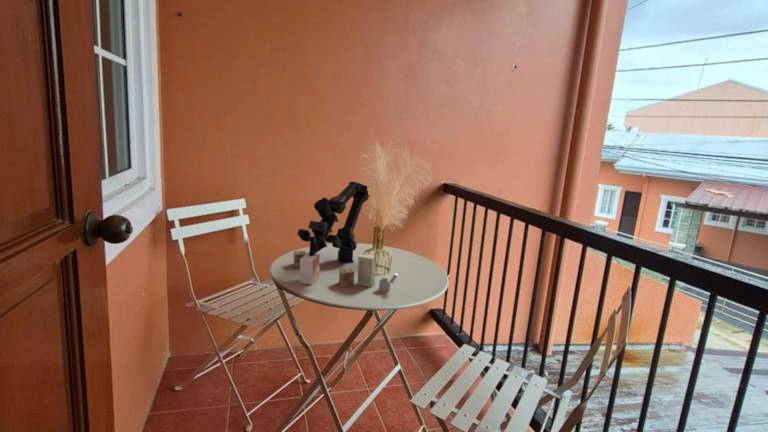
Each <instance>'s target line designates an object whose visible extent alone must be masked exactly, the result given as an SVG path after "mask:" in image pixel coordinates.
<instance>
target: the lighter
mask: <svg viewBox="0 0 768 432" xmlns="http://www.w3.org/2000/svg"><path fill="white" fill-rule="evenodd" d="M398 276H399V273H397V272H395V273H394V274H393V276H392V277H391V279H390V280H389V278H388V277H382V278H380V279H379V284H378V291H380V292H385V293H386V292H387V293H389V292H390V291H391V285H392V284H394V282H395V280H396V279H397V278H398Z"/></svg>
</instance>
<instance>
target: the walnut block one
mask: <svg viewBox="0 0 768 432" xmlns="http://www.w3.org/2000/svg"><path fill="white" fill-rule="evenodd" d="M352 268H353V267H352ZM352 268H351V267H349V268H348V267H347V268H339V273H338V276H339V277H338V284H339V285H340V287H341V288H348V287H349V288H350V287H354V284H355V271H354V270H353V269H352Z"/></svg>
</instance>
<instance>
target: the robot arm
mask: <svg viewBox="0 0 768 432" xmlns="http://www.w3.org/2000/svg"><path fill="white" fill-rule="evenodd" d="M367 186H368V185H364V184H362V183H360V182H359V181H350V182H349V183H348V185H347V186H346V187H345V188H344V189H343V190H341V192H340V193H339V194H338V195H336V196H332V197H331V198H330V199H328V197H322V198H321V199H318V200H317V201H316V202H315V203H314V205H313V207H314V209H315V210H316V213H317V214H318V216H319V218H321V219H320V221H315V220H310V221H309V224H308V229H310V230H311V232H312V233H311V232H310V231H309V230H308V229H305V228H299V229H298V230H297V233H296V234H297V236H298V237H299V238H300V239H301V241H302V242H303V241H304V242H307V243H308V242H309V250H308V251H309V252H308V253H309V255H310V256H313V255H314V254H318V252H320V251H321V250H323V249H324V248H327V247H328V244H329V243H331V245H332V247H333V248H335V249H338V250H337V260H338V261H339V263H345V264H346V263H354V260H353V259H354V257H353V256H354V251H356V249H357V247H358V246H357V245H358V244H357V242H356V240H355V237H356V236H355V232H354V230H355V228H356V225H357V221H358V218H359V215H360V213H361V210H362V207H363V205H364V203H366V202H367V201H368V200H369V197H370V195H368V191H367ZM351 198H352V203H351V206H350V208H349V212H348V214H347V217H346V220H345V223H344V225H343V227H342V228H338V229H337V232H336V234H335V235H334V234H332V233H333V227H334V225H335V223H338V222H339V218H338V215H339V214H340V215H341V214H343V213H344V211H345V209H346V208H347V203H348V202H349V200H351ZM337 214H338V215H337Z"/></svg>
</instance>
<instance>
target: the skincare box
mask: <svg viewBox="0 0 768 432" xmlns="http://www.w3.org/2000/svg"><path fill="white" fill-rule="evenodd" d="M357 260H358V261H357V285H358V286H364V287H369V288H372V286H374V285H375V281H376V255H372V254H365V253H361V254H360V255H359V256H358V259H357Z"/></svg>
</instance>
